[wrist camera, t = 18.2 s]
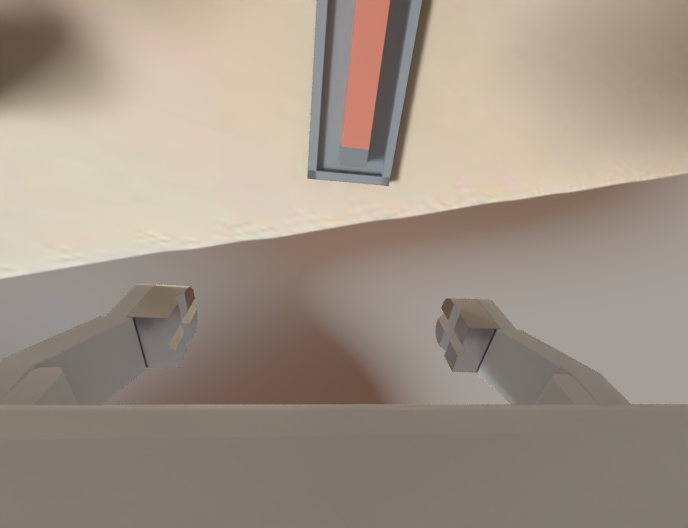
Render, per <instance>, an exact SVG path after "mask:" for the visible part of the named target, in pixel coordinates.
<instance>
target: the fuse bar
mask: <svg viewBox="0 0 688 528" xmlns="http://www.w3.org/2000/svg"><path fill="white" fill-rule="evenodd" d="M389 5H390V0H354V6H353V16H352V26H351V36H350V46H349V56H348V66H347V76H346V86H345V96H344V107H343V117H342V127H341V137H340V147H339V157H338V161H339V164H340V165H341V166H351V167H361V168H366V166H367V159H368V152H369V145H370V138H371V131H372V124H373V117H374V110H375V103H376V96H377V89H378V82H379V75H380V68H381V61H382V54H383V47H384V40H385V33H386V26H387V19H388V12H389Z"/></svg>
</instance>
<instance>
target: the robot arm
mask: <svg viewBox="0 0 688 528" xmlns="http://www.w3.org/2000/svg"><path fill="white" fill-rule="evenodd" d="M194 299H195V296H194V290H193V289H192V288H191V287H190V286H189V287H188V286H174V285H158V284H157V285H155V284H136V285H134V286H133V287H132V288H131V289H130V290H129V292H128V293H127V294H126V295H125V296H124V297H123V298H122V299H121V300H120V301H119V302H118V304H116V306H115V307H114V308H113V309H112V310H111V311H110V312H109V313H108V314H107V315H106V316H105V317H101V316H99V317H97V318H95V319H92V320H90V321H88V322H85V323H83V324H81V325H79V326H76V327H74V328H72V329H70V330H67V331H65V332H63V333H60V334H58V335H56V336H53V337H51V338H49V339H47V340H44V341H42V342H40V343H38V344H35V345H33V346H31V347H28V348H26V349H24V350H21V351H19V352H17V353H15V354H12V355H10V356H8V357H5V358H3V359H1V360H0V528H688V404H632V405H631V404H630V403H629V402H628V401H627V400H626V399H625V398H624V397H623V396H622V395H621V394H620V393H619V392H618V391H617V390H616V389H615V388H614V387H613V386H612V385H611V384H610V383H609V382H608V381H607V380H606V379H605V378H604V377H603V376H602V375H601V374H600V373H598V372H597V371H595V370H593V369H591V368H589V367H588V366H586V365H584V364H582V363H580V362H578V361H577V360H575V359H573V358H571V357H569V356H568V355H566V354H564V353H562V352H560V351H558V350H557V349H555V348H553V347H551V346H549V345H547V344H546V343H544V342H542V341H540V340H539V339H537V338H535V337H533V336H531V335H529V334H527V333H526V332H524V331H522V330H516V328H515V327H514V326H513V325H512V324H511V322H510V321H509V320H508V319H507V318H506V316H505V315H504V314H503V313H502V312H501V310H500V309H499V308H498V307H497V306H496V305H495V303H494V302H493V301H492V300H489V299H449V298H447V299H446V300H445V301H444V302H443V305H442V307H441V309H442V311H443V313H444V314H443V315H442V316H440V317H439V318H438V320H437V324H436V338H437V341H438V343H439V346H440V347H442V348H443V349H444V350H446V353H445V358H446V360H447V362H448V364H449V366H450V368H451V370H452V371H453V372H476V373H477V374H478V375H479V376H480V377H481V378H482V379H483V380H485V381H486V382H487V383H488V384H489V385H490V386H491V387H492V388H494V389H495V390H496V391H497V392H498V393H499V394H500V395H501V396H503V397H504V398H505V399H506V400H507V401H508V402H509V403H511V404H510V405H509V404H507V405H405V404H403V405H402V404H400V405H397V404H395V405H392V404H389V405H386V404H385V405H384V404H381V405H380V404H379V405H378V404H377V405H376V404H374V405H373V404H368V405H367V404H366V405H364V404H363V405H362V404H360V405H359V404H357V405H354V404H352V405H102V404H103V403H104V402H106V401H107V400H108V399H110V398H111V397H112V396H114V395H115V394H116V393H117V392H119V391H120V390H121V389H123V388H124V387H125V386H126V385H128V384H129V383H130V382H132V381H133V380H134V379H135V378H137V377H138V376H139V375H140V374H142V373H143V372H144V371H146V370H147V369H146V368H179V366H180V364H181V362H182V360H183V358H184V356H185V354H186V351H187V348H186V343H188V342H190V341H191V340H192V339H193V337H194V335H195V333H196V328H197V321H198V319H197V317H198V316H197V310H196V309H195V308H194V307H193V306H192V303H193V301H194Z"/></svg>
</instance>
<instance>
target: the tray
mask: <svg viewBox="0 0 688 528" xmlns="http://www.w3.org/2000/svg"><path fill="white" fill-rule="evenodd" d="M421 4H422V0H390V5H389V12H388V19H387V26H386V33H385V40H384V47H383V54H382V61H381V68H380V75H379V82H378V89H377V96H376V103H375V110H374V117H373V124H372V131H371V138H370V145H369V152H368V159H367V166H366V168H361V167H351V166H341V165H340V164H339V161H338V157H339V147H340V137H341V127H342V117H343V107H344V96H345V86H346V76H347V66H348V56H349V46H350V36H351V26H352V16H353V6H354V0H317V9H316V28H315V46H314V65H313V84H312V103H311V121H310V140H309V159H308V178H307V179H318V180H329V181H340V182H351V183H362V184H373V185H384V186H389V181H390V176H391V170H392V165H393V159H394V154H395V148H396V142H397V137H398V131H399V126H400V120H401V115H402V109H403V104H404V98H405V93H406V87H407V82H408V76H409V71H410V65H411V59H412V54H413V48H414V43H415V37H416V32H417V26H418V21H419V15H420V10H421Z"/></svg>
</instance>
